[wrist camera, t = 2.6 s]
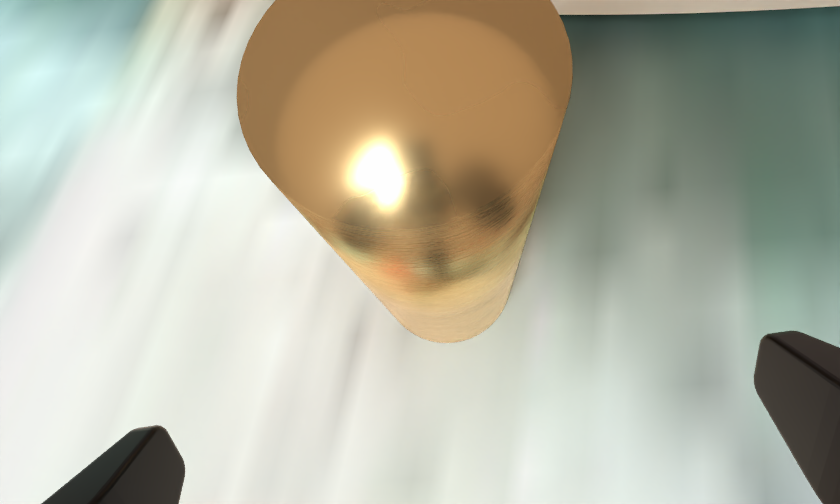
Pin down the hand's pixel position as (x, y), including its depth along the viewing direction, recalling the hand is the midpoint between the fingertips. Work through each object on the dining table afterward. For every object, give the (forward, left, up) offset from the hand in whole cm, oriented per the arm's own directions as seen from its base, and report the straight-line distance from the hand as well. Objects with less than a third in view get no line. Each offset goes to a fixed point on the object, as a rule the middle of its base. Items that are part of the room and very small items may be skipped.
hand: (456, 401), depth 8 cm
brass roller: (+4, +2, -11) cm, 12 cm away
